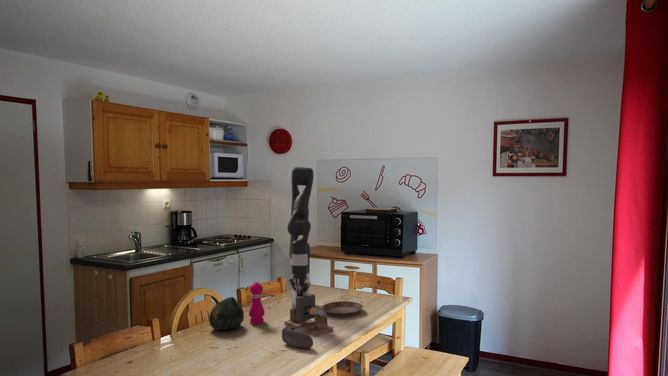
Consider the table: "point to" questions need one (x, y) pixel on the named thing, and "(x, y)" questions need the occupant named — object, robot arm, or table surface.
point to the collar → (300, 303)
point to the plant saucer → (342, 309)
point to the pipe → (311, 310)
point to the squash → (226, 315)
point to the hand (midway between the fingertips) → (300, 300)
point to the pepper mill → (256, 304)
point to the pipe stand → (309, 324)
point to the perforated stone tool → (296, 337)
